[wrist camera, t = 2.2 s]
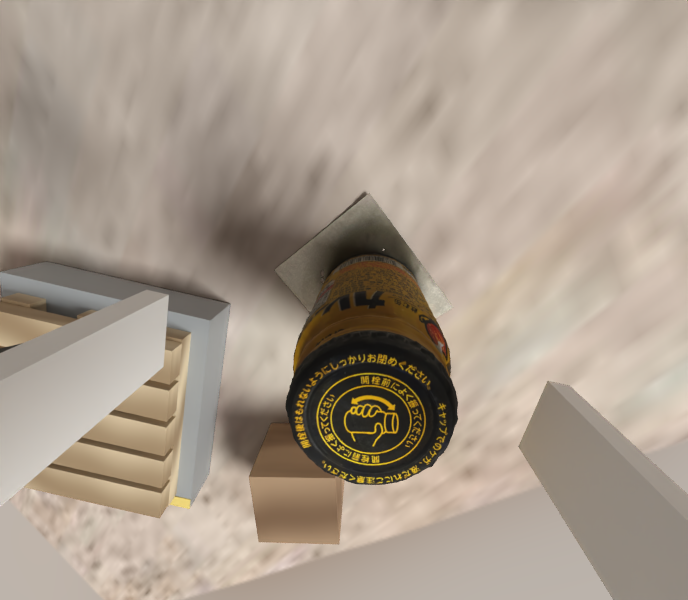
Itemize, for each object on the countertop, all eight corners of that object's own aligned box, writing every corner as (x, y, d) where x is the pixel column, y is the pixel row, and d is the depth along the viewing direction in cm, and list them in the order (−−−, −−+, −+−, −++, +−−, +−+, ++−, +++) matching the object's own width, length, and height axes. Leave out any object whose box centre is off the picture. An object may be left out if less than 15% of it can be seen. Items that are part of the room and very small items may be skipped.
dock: (47, 261, 22) (-2, 272, 19) (230, 303, 22) (209, 320, 19) (54, 438, 26) (16, 469, 24) (208, 474, 27) (189, 508, 24)
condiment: (358, 368, 23) (349, 541, 12) (274, 269, 22) (168, 358, 10) (452, 306, 21) (548, 437, 10) (369, 192, 20) (370, 195, 8)
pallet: (18, 292, 20) (-20, 303, 18) (191, 332, 20) (172, 347, 18) (30, 460, 23) (0, 484, 21) (176, 493, 23) (159, 520, 21)
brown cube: (271, 422, 25) (248, 476, 20) (341, 422, 25) (335, 478, 20) (278, 478, 26) (258, 541, 22) (344, 479, 26) (339, 544, 21)
